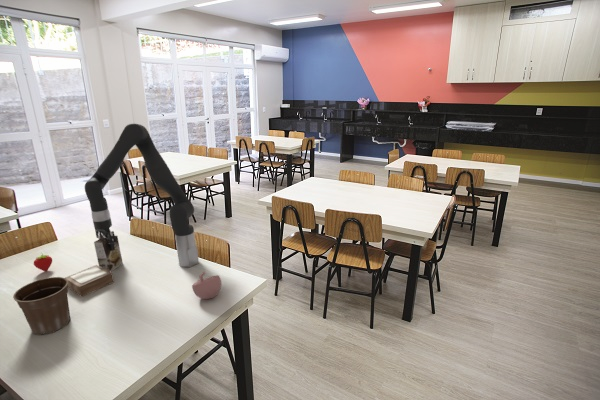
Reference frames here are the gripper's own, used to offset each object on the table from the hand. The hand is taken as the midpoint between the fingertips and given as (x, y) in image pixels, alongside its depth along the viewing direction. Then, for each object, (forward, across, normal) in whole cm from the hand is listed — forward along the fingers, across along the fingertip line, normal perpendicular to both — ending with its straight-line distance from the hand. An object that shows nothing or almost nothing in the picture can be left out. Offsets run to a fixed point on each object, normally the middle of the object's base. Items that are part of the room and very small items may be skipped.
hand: (108, 248), depth 165 cm
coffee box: (+11, 0, 0) cm, 11 cm away
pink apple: (+10, -62, -9) cm, 64 cm away
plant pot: (+11, -25, +36) cm, 45 cm away
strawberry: (+11, +25, +20) cm, 34 cm away
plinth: (+11, -8, +14) cm, 19 cm away
